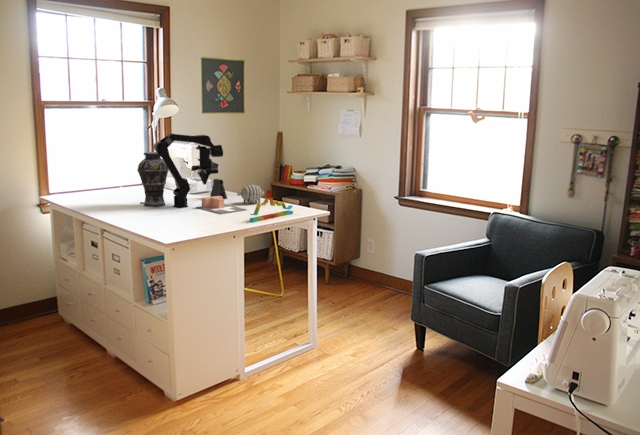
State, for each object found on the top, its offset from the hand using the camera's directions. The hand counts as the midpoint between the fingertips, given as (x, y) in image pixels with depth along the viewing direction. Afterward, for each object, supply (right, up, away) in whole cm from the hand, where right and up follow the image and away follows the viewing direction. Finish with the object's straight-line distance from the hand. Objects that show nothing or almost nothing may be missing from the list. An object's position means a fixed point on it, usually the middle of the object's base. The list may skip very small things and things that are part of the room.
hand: (204, 184), depth 344 cm
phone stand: (+4, -8, +23) cm, 25 cm away
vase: (-28, -12, -2) cm, 31 cm away
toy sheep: (+25, -11, +11) cm, 30 cm away
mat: (+11, -14, -8) cm, 20 cm away
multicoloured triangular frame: (+40, -19, -27) cm, 52 cm away
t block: (+7, -13, -5) cm, 15 cm away
